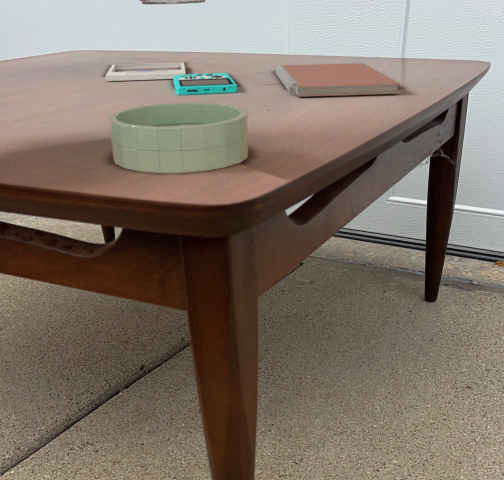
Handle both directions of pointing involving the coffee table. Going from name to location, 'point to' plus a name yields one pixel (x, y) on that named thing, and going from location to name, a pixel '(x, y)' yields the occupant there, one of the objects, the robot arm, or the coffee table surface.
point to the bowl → (179, 137)
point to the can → (170, 1)
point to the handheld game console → (204, 84)
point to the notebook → (335, 80)
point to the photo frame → (144, 74)
